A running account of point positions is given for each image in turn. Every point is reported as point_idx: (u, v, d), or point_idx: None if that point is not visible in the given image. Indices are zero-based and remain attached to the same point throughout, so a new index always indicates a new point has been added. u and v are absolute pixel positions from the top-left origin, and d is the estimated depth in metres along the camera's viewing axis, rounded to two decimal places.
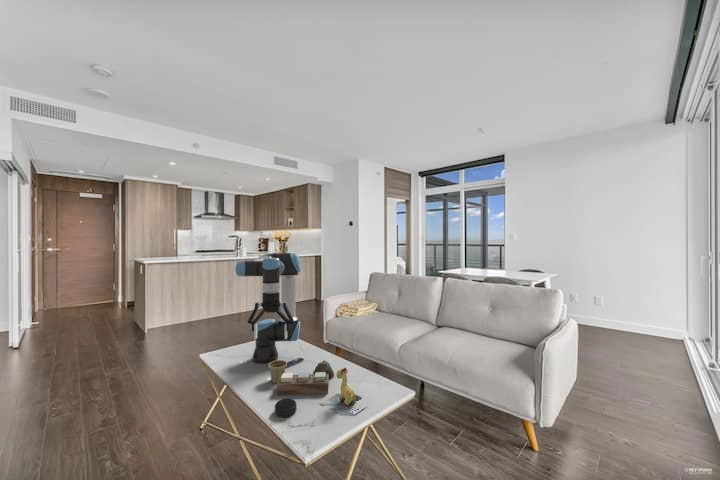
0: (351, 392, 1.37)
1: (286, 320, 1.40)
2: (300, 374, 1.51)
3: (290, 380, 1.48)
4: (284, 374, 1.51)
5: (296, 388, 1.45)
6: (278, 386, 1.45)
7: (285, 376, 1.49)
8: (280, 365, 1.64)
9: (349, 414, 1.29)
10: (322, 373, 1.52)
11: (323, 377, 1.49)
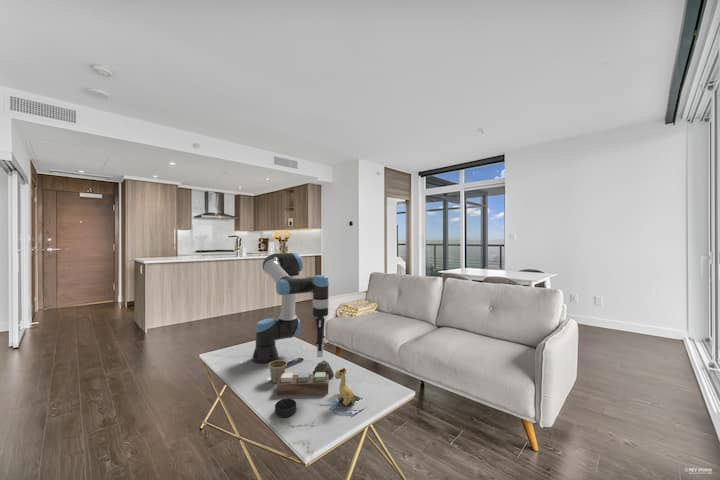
0: (350, 392, 1.37)
1: None
2: (300, 374, 1.51)
3: (290, 380, 1.48)
4: (284, 374, 1.51)
5: (296, 388, 1.45)
6: (278, 386, 1.45)
7: (285, 376, 1.49)
8: (280, 365, 1.64)
9: (348, 415, 1.28)
10: (322, 373, 1.52)
11: (323, 377, 1.49)
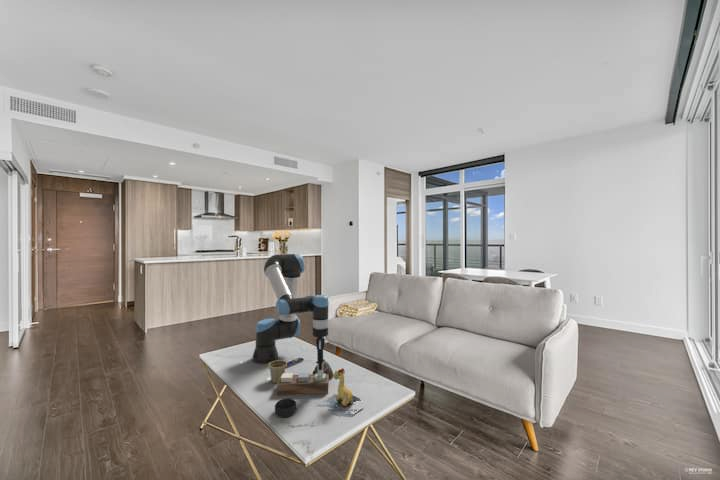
0: (348, 393, 1.36)
1: None
2: (300, 374, 1.51)
3: (290, 380, 1.48)
4: (284, 374, 1.51)
5: (296, 388, 1.45)
6: (278, 386, 1.45)
7: (285, 376, 1.49)
8: (280, 365, 1.64)
9: (347, 415, 1.28)
10: None
11: (323, 378, 1.49)
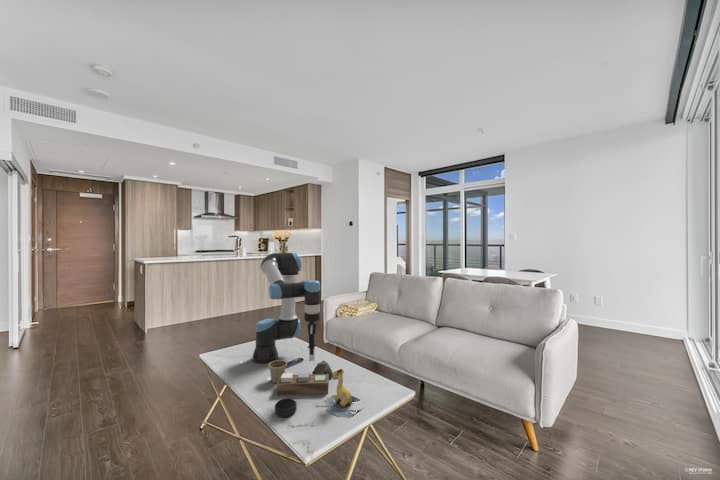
0: (347, 393, 1.36)
1: None
2: (300, 374, 1.51)
3: (290, 380, 1.48)
4: (284, 374, 1.51)
5: (296, 388, 1.45)
6: (278, 386, 1.45)
7: (285, 376, 1.49)
8: (280, 365, 1.64)
9: (345, 415, 1.28)
10: (322, 376, 1.52)
11: (323, 380, 1.49)
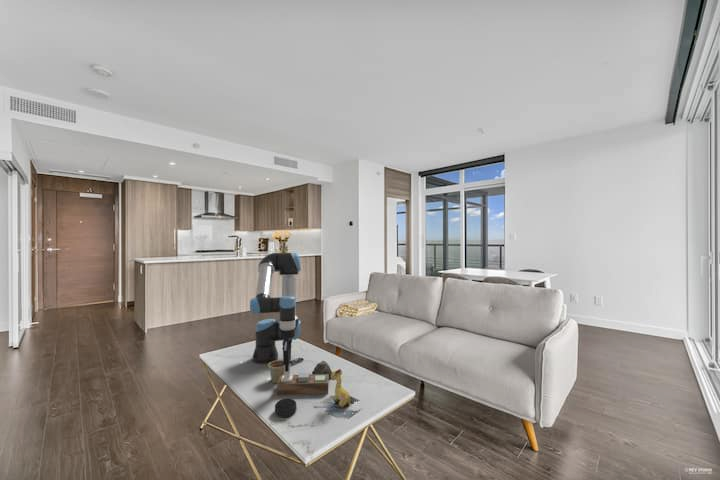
0: (346, 394, 1.36)
1: None
2: (300, 374, 1.51)
3: None
4: None
5: (296, 388, 1.45)
6: (278, 386, 1.45)
7: (285, 378, 1.49)
8: (280, 365, 1.64)
9: (344, 416, 1.27)
10: (322, 376, 1.52)
11: (323, 380, 1.49)
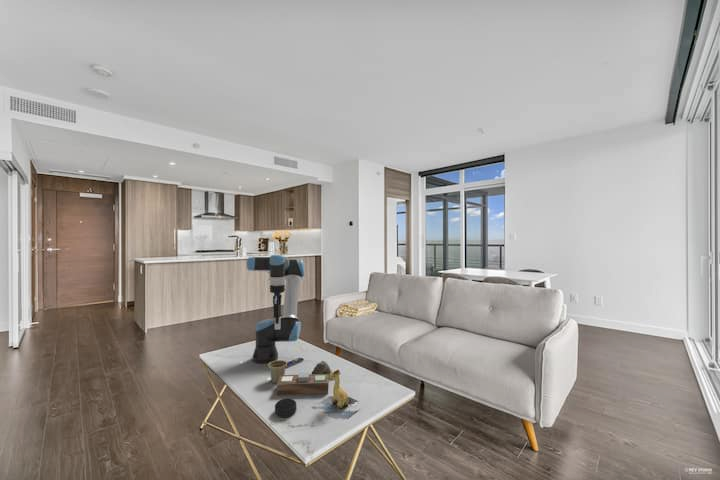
0: (344, 394, 1.35)
1: None
2: (300, 374, 1.51)
3: None
4: (284, 377, 1.51)
5: (296, 388, 1.45)
6: (278, 386, 1.45)
7: (285, 379, 1.49)
8: (280, 365, 1.64)
9: (342, 417, 1.27)
10: (322, 376, 1.52)
11: (323, 380, 1.49)
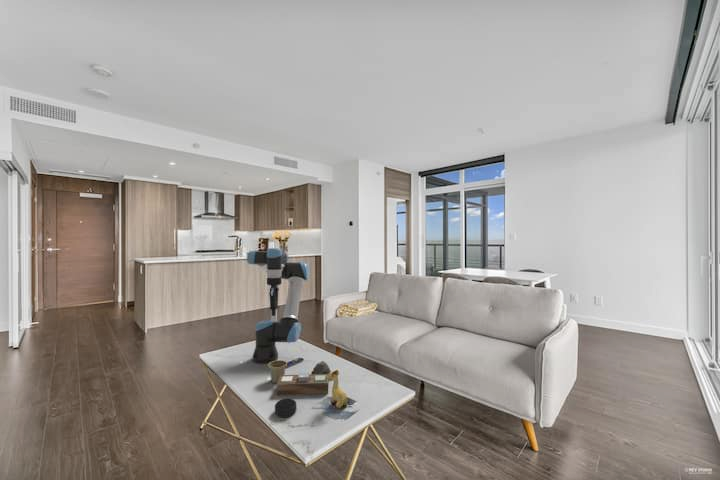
0: (343, 395, 1.35)
1: None
2: (300, 374, 1.51)
3: None
4: (284, 377, 1.51)
5: (296, 388, 1.45)
6: (278, 386, 1.45)
7: (285, 379, 1.49)
8: (280, 365, 1.64)
9: (341, 417, 1.26)
10: (322, 376, 1.52)
11: (323, 380, 1.49)
